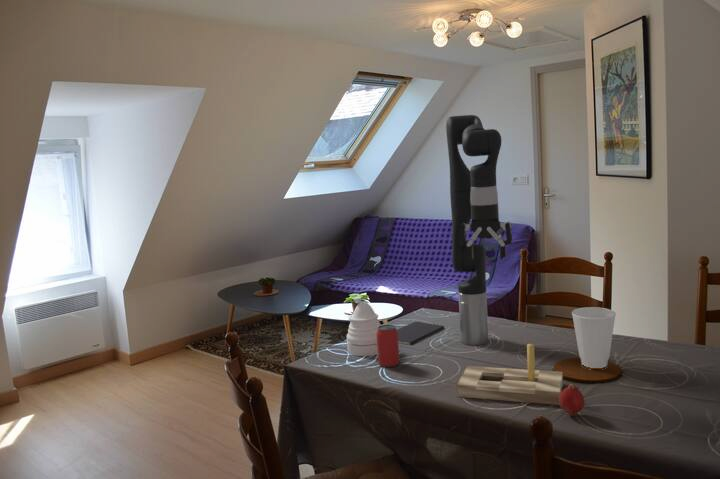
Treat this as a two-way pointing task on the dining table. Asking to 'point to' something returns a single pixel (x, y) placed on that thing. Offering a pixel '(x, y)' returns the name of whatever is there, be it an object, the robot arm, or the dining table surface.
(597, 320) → the cup
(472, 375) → the keyhole board
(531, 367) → the headed peg
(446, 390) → the dining table surface
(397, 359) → the beer can
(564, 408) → the onion
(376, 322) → the honey pot
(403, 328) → the notebook
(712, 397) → the dining table surface
